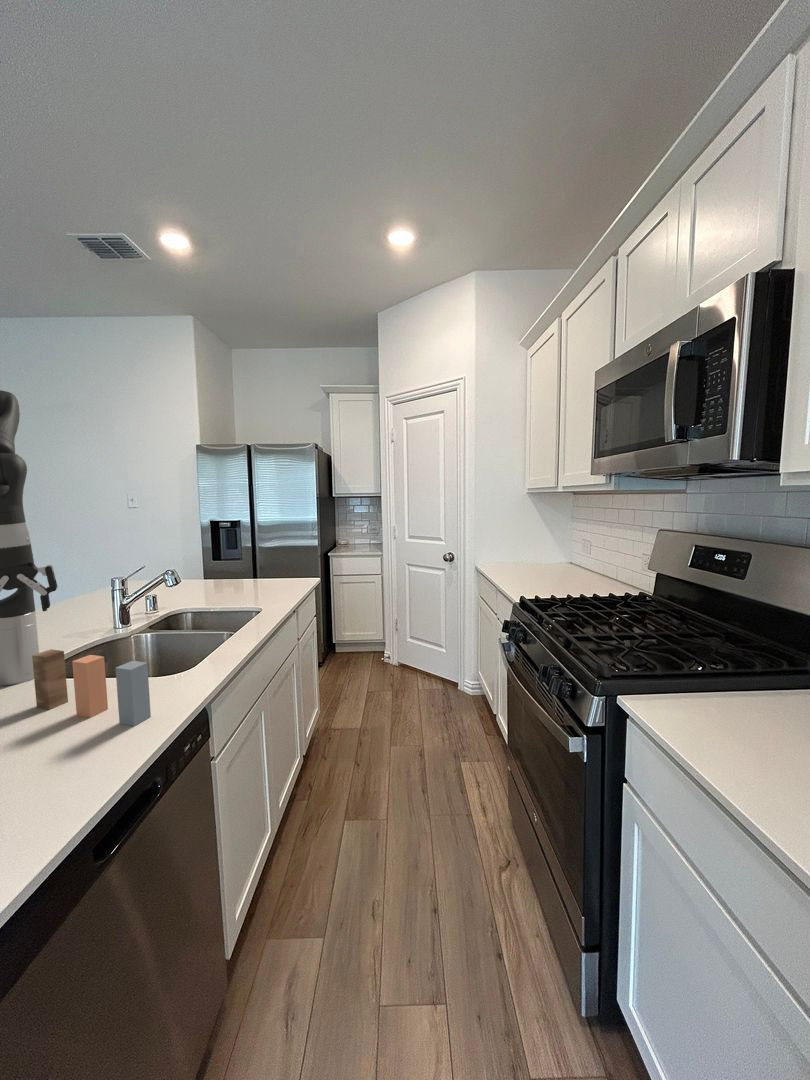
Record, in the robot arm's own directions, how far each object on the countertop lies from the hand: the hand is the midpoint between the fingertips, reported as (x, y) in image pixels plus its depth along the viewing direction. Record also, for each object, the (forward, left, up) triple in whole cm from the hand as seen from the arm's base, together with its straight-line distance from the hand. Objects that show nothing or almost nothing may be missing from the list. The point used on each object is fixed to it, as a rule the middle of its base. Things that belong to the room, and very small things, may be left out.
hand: (21, 614), depth 101 cm
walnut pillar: (+7, +4, -20) cm, 22 cm away
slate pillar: (+28, +16, -20) cm, 38 cm away
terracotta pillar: (+18, +10, -20) cm, 28 cm away
